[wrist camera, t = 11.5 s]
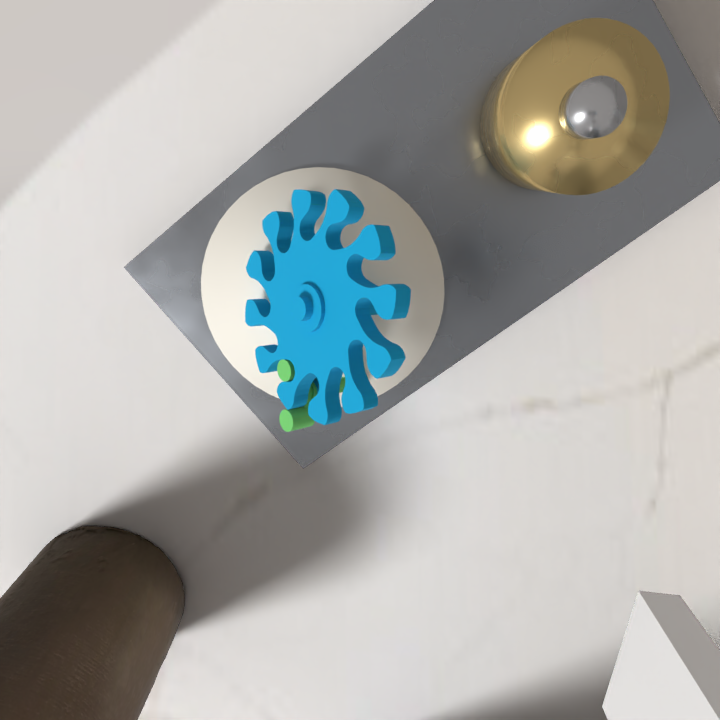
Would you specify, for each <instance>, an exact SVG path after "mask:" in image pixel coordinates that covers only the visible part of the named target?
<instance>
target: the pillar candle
mask: <svg viewBox="0 0 720 720" xmlns="http://www.w3.org/2000/svg"><path fill="white" fill-rule="evenodd" d="M184 602H185V594H184V589H183V585H182V581H181V579H180V577H179V575H178V573H177V571H176V569H175V568H174V566H173V564H172V563H171V562H170V560H169V559H168V557H166V555H165V554H164V553H163V552H162V551H161V550H160V549H159V548H158V547H155V546H154V544H152V543H151V542H149V541H147V540H145V539H144V538H142V537H141V536H139V535H134V534H133V533H130V532H128V531H125V530H121V529H117V528H112V527H111V528H108V527H98V526H86V527H84V526H83V527H79V528H76V529H75V530H72V531H69V532H68V533H66V534H63V535H59V536H57V537H55V538H54V539H53V540H52V541H50V543H48V544H47V545H46V546H45V547H44V548H43V549H42V551H41V552H40V553H39V554H38V555H37V557H36V558H35V559H34V560H33V561H32V562H31V563H30V564H29V565H28V567H27V568H26V569H25V570H24V571H23V573H22V574H21V575H20V576H19V577H18V579H17V580H16V581H15V582H14V583H13V584H12V585H11V587H10V588H9V589H8V590H7V591H6V592H5V593H4V595H3V596H2V597H1V598H0V720H138V717H139V715H140V713H141V711H142V709H143V707H144V704H145V702H146V700H147V698H148V695H149V693H150V691H151V689H152V687H153V685H154V682H155V680H156V677H157V674H158V672H159V669H160V667H161V665H162V663H163V661H164V660H165V658H166V655H167V653H168V650H169V648H170V646H171V644H172V641H173V639H174V636H175V633H176V630H177V628H178V625H179V622H180V620H181V617H182V614H183V611H184Z"/></svg>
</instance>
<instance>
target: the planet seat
mask: <svg viewBox="0 0 720 720" xmlns="http://www.w3.org/2000/svg"><path fill="white" fill-rule="evenodd" d="M298 189H301V190H310V191H319V192H322V193H323V194H325V196H326V206H325V209H324V212H323V213H322V215H321V216H320V217H319V218H318V220H317V221H316V223H315V228H314V231H315V234H316V233H317V231H318V230H319V228H320V227H321V225H322V223H323V220H324V217H325V213H326V209H327V201H328V197H329V195H330V193H331V192H332V191H333V190H334V189H339V190H347V191H351V192H352V193H353V194H355V195H356V196H357V197H358V198H359V199H360V201H361V202H362V204H363V206H364V213H363V216H362V217H361V219H360V220H359V221H358V222H357V223H354V224H350V225H346V226H345V227H344V228H343V230H342V232H341V237H340V239H341V244H342V246H343V248H346V247H347V246H349V245H351V244H352V243H353V242H354V241H355V240H356V239H357V238H358V236H359V235H360V233H361V231H362V230H363V228H364V227H366V226H367V225H371V224H372V225H386V226H389V227H390V229H391V232H392V235H393V238H394V242H395V250H396V254H395V255H394V256H393V257H392V258H391V259H389V260H367V259H365V258H364V259H363V261H362V266H361V268H362V273H363V276H364V277H365V278H366V279H367V280H369V281H370V282H372V283H373V284H375V285H377V286H381V285H384V284H405V285H407V286H408V287H409V288H410V289H411V298H410V307H409V311H408V314H407V316H406V318H401V319H391V320H385V319H382V318H381V317H380V316H379V315H371V317H372V319H373V321H374V323H375V325H376V326H377V328H378V330H379V331H380V333H381V334H382V335H383V336H384V337H385V338H386V339H387V340H389V341H391V342H392V343H395V344H397V345H399V346H400V347H401V348H402V349H403V351H404V353H405V356H406V358H405V360H404V362H403V364H402V366H401V367H400V369H399V370H398V371H397V372H396V373H395V374H394V375H392V376H389V377H384V378H379V379H376V378H375V377H373V376H372V374H371V373H370V371H369V369H368V366H367V358H366V349H365V346H364V344H363V361H364V367H365V371H366V375H367V377H368V380H369V381H370V383H371V385H372V387H373V388H374V389H375V391H376V393H377V396H379V395H381V394H383V393H385V392H386V391H388V390H390V389H391V388H393V387H394V386H396V385H397V384H398V383H400V382H401V381H402V380H403V379H404V378H406V377H407V376H408V375H409V374H410V373H411V372H412V371H413V370H414V369H415V368H416V366H417V365H418V364H419V363H420V361H421V360H422V359H423V357H424V356H425V354H426V353H427V351H428V350H429V348H430V346H431V344H432V342H433V340H434V338H435V335H436V333H437V330H438V327H439V325H440V320H441V316H442V312H443V305H444V294H445V293H444V276H443V270H442V264H441V260H440V257H439V254H438V251H437V247H436V245H435V243H434V241H433V239H432V237H431V234H430V232H429V231H428V229H427V227H426V226H425V224H424V223H423V221H422V220H421V218H420V217H419V216H418V215H417V213H416V212H415V211H414V210H413V209H412V208H411V206H410V205H409V204H408V203H407V202H405V201H404V200H403V199H402V198H401V197H400V196H399V195H398V194H397V193H395V192H394V191H392V190H391V189H389V188H388V187H386V186H385V185H383V184H382V183H379V182H377V181H375V180H373V179H371V178H369V177H367V176H364V175H361V174H358V173H355V172H352V171H348V170H343V169H337V168H325V167H313V168H302V169H297V170H292V171H288V172H284V173H281V174H279V175H276V176H273V177H271V178H268V179H266V180H265V181H263V182H261V183H259V184H257V185H256V186H254V187H252V188H251V189H250V190H249V191H247V192H246V193H245V194H243V195H242V196H241V197H240V198H239V199H238V200H237V201H236V202H235V203H234V204H233V205H232V206H231V207H230V208H229V209H228V210H227V212H226V213H225V214H224V216H223V217H222V218H221V220H220V221H219V223H218V225H217V226H216V228H215V230H214V232H213V234H212V236H211V238H210V241H209V243H208V246H207V249H206V252H205V256H204V261H203V265H202V275H201V295H202V302H203V308H204V313H205V317H206V320H207V323H208V326H209V329H210V331H211V333H212V335H213V338H214V340H215V342H216V343H217V345H218V347H219V348H220V350H221V352H222V353H223V355H224V356H225V357H226V358H227V360H228V361H229V362H230V363H231V365H232V366H233V367H234V368H235V369H236V370H237V371H238V372H239V373H240V374H241V375H242V376H243V377H244V378H246V379H247V380H248V381H250V382H251V383H252V384H253V385H255V386H256V387H258V388H260V389H261V390H263V391H265V392H266V393H268V394H270V395H272V396H275V397H277V398H279V396H278V394H277V387H278V385H279V384H280V383H281V382H284V381H282V380H281V379H280V378H279V375H278V372H277V371H275V372H268V373H260V371H259V368H258V365H257V361H256V355H255V349H256V348H257V347H258V346H265V345H273V344H275V345H278V341H277V337H276V335H275V334H274V332H272V331H271V330H270V329H269V328H268V327H266V326H264V325H263V326H248V325H247V324H246V322H245V308H246V302H247V300H248V299H267V300H268V301H269V298H268V296H267V294H266V292H265V290H264V288H263V287H262V285H261V284H260V283H259V282H258V281H257V280H255V279H253V278H251V277H250V276H249V275H248V273H247V271H246V266H247V263H248V260H249V257H250V255H251V254H252V252H253V251H254V250H259V251H270V252H271V253H272V254H273V250H272V247H271V244H270V242H269V240H268V238H267V236H266V235H265V233H264V231H263V227H262V220H263V219H264V218H265V217H266V216H267V215H268V214H269V213H271V212H273V211H283V212H291V213H292V215H293V209H292V204H291V198H292V193H293V191H294V190H298ZM293 218H294V215H293ZM292 236H293V234H292ZM291 241H292V239H291ZM273 255H274V254H273ZM269 303H270V301H269ZM342 377H345V375H344V373H343V375H342ZM342 393H343V392H341V393H339V397H340V404H341V407H342V401H341V398H342ZM279 399H280V398H279Z"/></svg>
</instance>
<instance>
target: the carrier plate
mask: <svg viewBox="0 0 720 720" xmlns="http://www.w3.org/2000/svg"><path fill="white" fill-rule="evenodd" d="M313 167H325V168H337V169H343V170H348V171H352V172H355V173H358V174H361V175H364V176H367V177H369V178H371V179H373V180H375V181H377V182H379V183H382V184H383V185H385V186H386V187H388V188H389V189H391V190H392V191H394V192H395V193H397V194H398V195H399V196H400V197H401V198H402V199H403V200H404V201H405V202H407V203H408V204H409V205H410V206H411V208H412V209H413V210H414V211H415V212H416V213H417V215H418V216H419V217H420V218H421V220H422V221H423V223H424V224H425V226H426V227H427V229H428V231H429V232H430V234H431V237H432V239H433V241H434V243H435V245H436V247H437V251H438V254H439V257H440V260H441V264H442V270H443V276H444V293H445V294H444V305H443V312H442V316H441V320H440V325H439V327H438V330H437V333H436V335H435V338H434V340H433V342H432V344H431V346H430V348H429V350H428V351H427V353H426V354H425V356H424V357H423V359H422V360H421V361H420V363H419V364H418V365H417V366H416V368H415V369H414V370H413V371H412V372H411V373H410V374H409V375H408V376H407V377H406V378H404V379H403V380H402V381H401V382H400V383H398V384H397V385H396V386H394V387H393V388H391V389H390V390H388V391H386V392H385V393H383V394H381V395H379V396H377V397H378V406H376V407H374V408H372V409H369V410H365V411H361V412H357V413H352V414H348V413H345V411H344V409H343V407H341V408H342V416H341V419H340V421H339V422H336V423H332V424H328V425H323V424H320V423H318V422H316V421H315V422H314V424H313V425H312V426H310V427H306V428H302V429H298V430H294V431H290V432H286V431H284V430H283V428H282V427H281V425H280V420H279V416H280V413H281V411H282V410H285V409H287V408H286V407H285V406H284V405H283V403H282V402H281V400H280V399H279V398H277V397H275V396H272V395H270V394H268V393H266V392H265V391H263V390H261V389H260V388H258V387H256V386H255V385H253V384H252V383H251V382H250V381H248V380H247V379H246V378H244V377H243V376H242V375H241V374H240V373H239V372H238V371H237V370H236V369H235V368H234V367H233V366H232V365H231V363H230V362H229V361H228V360H227V358H226V357H225V356H224V355H223V353H222V352H221V350H220V348H219V347H218V345H217V343H216V342H215V340H214V338H213V335H212V333H211V331H210V329H209V326H208V323H207V320H206V317H205V313H204V308H203V302H202V295H201V275H202V265H203V261H204V256H205V252H206V249H207V246H208V243H209V241H210V238H211V236H212V234H213V232H214V230H215V228H216V226H217V225H218V223H219V221H220V220H221V218H222V217H223V216H224V214H225V213H226V212H227V210H228V209H229V208H230V207H231V206H232V205H233V204H234V203H235V202H236V201H237V200H238V199H239V198H240V197H241V196H242V195H243V194H245V193H246V192H247V191H249V190H250V189H251V188H252V187H254V186H256V185H257V184H259V183H261V182H263V181H265V180H266V179H268V178H271V177H273V176H276V175H279V174H281V173H284V172H288V171H292V170H297V169H302V168H313ZM719 181H720V123H719V121H718V119H717V118H716V116H715V114H714V112H713V110H712V108H711V106H710V105H709V103H708V101H707V99H706V97H705V95H704V94H703V92H702V90H701V88H700V86H699V84H698V82H697V81H696V79H695V77H694V75H693V73H692V71H691V70H690V68H689V66H688V64H687V62H686V60H685V59H684V57H683V55H682V53H681V51H680V49H679V47H678V46H677V44H676V42H675V40H674V38H673V36H672V35H671V33H670V31H669V29H668V27H667V25H666V23H665V22H664V20H663V18H662V16H661V14H660V12H659V11H658V9H657V7H656V5H655V3H654V1H653V0H434V1H433V2H431V3H430V4H429V5H428V6H427V7H426V8H425V9H423V10H422V11H421V12H420V13H419V14H418V15H416V16H415V17H414V18H413V19H412V20H411V21H409V22H408V23H407V24H406V25H405V26H404V27H402V28H401V29H400V30H399V31H398V32H397V33H395V34H394V35H393V36H392V37H391V38H390V39H388V40H387V41H386V42H385V43H384V44H383V45H382V46H380V47H379V48H378V49H377V50H376V51H375V52H373V53H372V54H371V55H370V56H369V57H368V58H366V59H365V60H364V61H363V62H362V63H361V64H359V65H358V66H357V67H356V68H355V69H354V70H352V71H351V72H350V73H349V74H348V75H347V76H345V77H344V78H343V79H342V80H341V81H340V82H339V83H337V84H336V85H335V86H334V87H333V88H332V89H330V90H329V91H328V92H327V93H326V94H325V95H323V96H322V97H321V98H320V99H319V100H318V101H316V102H315V103H314V104H313V105H312V106H311V107H309V108H308V109H307V110H306V111H305V112H304V113H302V114H301V115H300V116H299V117H298V118H297V119H296V120H294V121H293V122H292V123H291V124H290V125H289V126H287V127H286V128H285V129H284V130H283V131H282V132H280V133H279V134H278V135H277V136H276V137H275V138H273V139H272V140H271V141H270V142H269V143H268V144H266V145H265V146H264V147H263V148H262V149H261V150H259V151H258V152H257V153H256V154H255V155H254V156H253V157H251V158H250V159H249V160H248V161H247V162H246V163H244V164H243V165H242V166H241V167H240V168H239V169H237V170H236V171H235V172H234V173H233V174H232V175H230V176H229V177H228V178H227V179H226V180H225V181H223V182H222V183H221V184H220V185H219V186H218V187H216V188H215V189H214V190H213V191H212V192H211V193H210V194H208V195H207V196H206V197H205V198H204V199H203V200H201V201H200V202H199V203H198V204H197V205H196V206H194V207H193V208H192V209H191V210H190V211H189V212H187V213H186V214H185V215H184V216H183V217H182V218H180V219H179V220H178V221H177V222H176V223H175V224H173V225H172V226H171V227H170V228H169V229H168V230H166V231H165V232H164V233H163V234H162V235H161V236H160V237H158V238H157V239H156V240H155V241H154V242H153V243H151V244H150V245H149V246H148V247H147V248H146V249H144V250H143V251H142V252H141V253H140V254H139V255H137V256H136V257H135V258H134V259H133V260H132V261H130V262H129V263H128V264H127V265H126V266H125V267H124V268H125V269H126V270H127V271H128V272H129V274H130V275H131V276H132V277H133V278H134V279H135V280H136V281H137V283H138V284H139V285H140V286H141V287H142V288H143V289H144V290H145V292H146V293H147V294H148V295H149V296H150V297H151V298H152V299H153V301H154V302H155V303H156V304H157V305H158V306H159V307H160V308H161V309H162V311H163V312H164V313H165V314H166V315H167V316H168V317H169V318H170V320H171V321H172V322H173V323H174V324H175V325H176V326H177V327H178V329H179V330H180V331H181V332H182V333H183V334H184V335H185V336H186V338H187V339H188V340H189V341H190V342H191V343H192V344H193V345H194V347H195V348H196V349H197V350H198V351H199V352H200V353H201V354H202V356H203V357H204V358H205V359H206V360H207V361H208V362H209V363H210V365H211V366H212V367H213V368H214V369H215V370H216V371H217V372H218V374H219V375H220V376H221V377H222V378H223V379H224V380H225V381H226V383H227V384H228V385H229V386H230V387H231V388H232V389H233V390H234V391H235V393H236V394H237V395H238V396H239V397H240V398H241V399H242V400H243V402H244V403H245V404H246V405H247V406H248V407H249V408H250V409H251V411H252V412H253V413H254V414H255V415H256V416H257V417H258V418H259V420H260V421H261V422H262V423H263V424H264V425H265V426H266V427H267V429H268V430H269V431H270V432H271V433H272V434H273V435H274V436H275V438H276V439H277V440H278V441H279V442H280V443H281V444H282V445H283V447H284V448H285V449H286V450H287V451H288V452H289V453H290V454H291V456H292V457H293V458H294V459H295V460H296V461H297V462H298V463H299V464H300V466H301V467H302V468H305V467H306V466H308V465H309V464H311V463H312V462H314V461H315V460H316V459H318V458H319V457H321V456H322V455H324V454H325V453H327V452H328V451H329V450H331V449H332V448H334V447H335V446H337V445H338V444H340V443H341V442H342V441H344V440H345V439H347V438H348V437H350V436H351V435H353V434H354V433H355V432H357V431H358V430H360V429H361V428H363V427H364V426H366V425H367V424H369V423H370V422H371V421H373V420H374V419H376V418H377V417H379V416H380V415H382V414H383V413H384V412H386V411H387V410H389V409H390V408H392V407H393V406H395V405H396V404H397V403H399V402H400V401H402V400H403V399H405V398H406V397H408V396H409V395H410V394H412V393H413V392H415V391H416V390H418V389H419V388H421V387H422V386H423V385H425V384H426V383H428V382H429V381H431V380H432V379H434V378H435V377H437V376H438V375H439V374H441V373H442V372H444V371H445V370H447V369H448V368H450V367H451V366H452V365H454V364H455V363H457V362H458V361H460V360H461V359H463V358H464V357H465V356H467V355H468V354H470V353H471V352H473V351H474V350H476V349H477V348H478V347H480V346H481V345H483V344H484V343H486V342H487V341H489V340H490V339H491V338H493V337H494V336H496V335H497V334H499V333H500V332H502V331H503V330H505V329H506V328H507V327H509V326H510V325H512V324H513V323H515V322H516V321H518V320H519V319H520V318H522V317H523V316H525V315H526V314H528V313H529V312H531V311H532V310H533V309H535V308H536V307H538V306H539V305H541V304H542V303H544V302H545V301H546V300H548V299H549V298H551V297H552V296H554V295H555V294H557V293H558V292H559V291H561V290H562V289H564V288H565V287H567V286H568V285H570V284H571V283H573V282H574V281H575V280H577V279H578V278H580V277H581V276H583V275H584V274H586V273H587V272H588V271H590V270H591V269H593V268H594V267H596V266H597V265H599V264H600V263H601V262H603V261H604V260H606V259H607V258H609V257H610V256H612V255H613V254H614V253H616V252H617V251H619V250H620V249H622V248H623V247H625V246H626V245H627V244H629V243H630V242H632V241H633V240H635V239H636V238H638V237H639V236H641V235H642V234H643V233H645V232H646V231H648V230H649V229H651V228H652V227H654V226H655V225H656V224H658V223H659V222H661V221H662V220H664V219H665V218H667V217H668V216H669V215H671V214H672V213H674V212H675V211H677V210H678V209H680V208H681V207H682V206H684V205H685V204H687V203H688V202H690V201H691V200H693V199H694V198H695V197H697V196H698V195H700V194H701V193H703V192H704V191H706V190H707V189H709V188H710V187H711V186H713V185H714V184H716V183H717V182H719Z"/></svg>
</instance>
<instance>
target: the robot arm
mask: <svg viewBox="0 0 720 720" xmlns="http://www.w3.org/2000/svg"><path fill="white" fill-rule="evenodd" d="M602 708H603V710H604V712H605V715H606V717H607V719H608V720H720V650H719V649H718V647H717V646H716V645H715V643H714V642H713V640H712V639H711V638H710V636H709V635H708V633H707V632H706V631H705V629H704V628H703V627H702V625H701V624H700V622H699V621H698V620H697V618H696V617H695V615H694V614H693V613H692V611H691V610H690V608H689V607H688V606H687V604H686V603H685V602H684V600H683V599H682V597H681V596H680V595H671V594H662V593H653V592H645V591H638V594H637V597H636V600H635V603H634V607H633V610H632V613H631V616H630V619H629V622H628V626H627V629H626V632H625V635H624V638H623V641H622V645H621V648H620V651H619V654H618V657H617V661H616V664H615V667H614V670H613V673H612V676H611V680H610V683H609V686H608V689H607V692H606V695H605V699H604V702H603V705H602Z"/></svg>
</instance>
